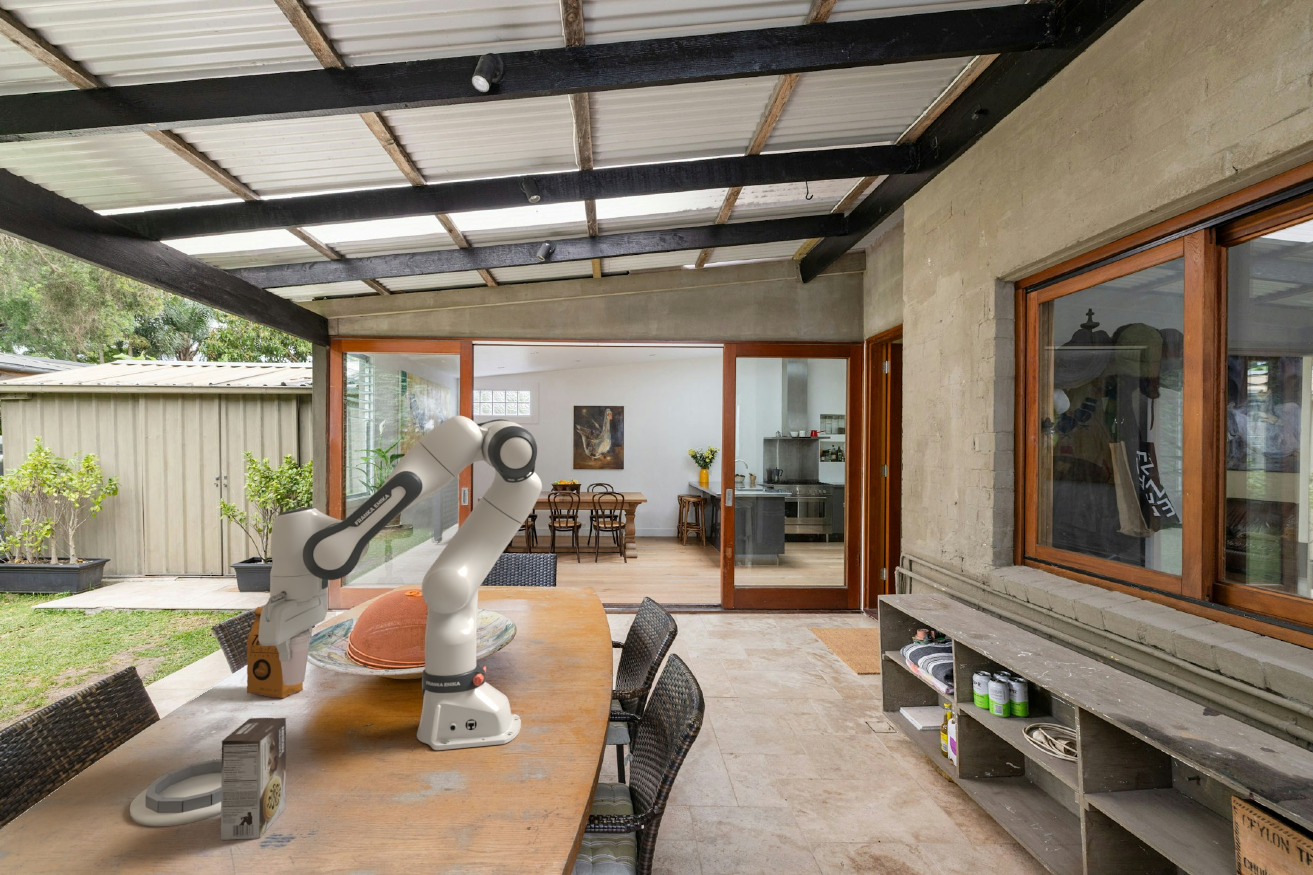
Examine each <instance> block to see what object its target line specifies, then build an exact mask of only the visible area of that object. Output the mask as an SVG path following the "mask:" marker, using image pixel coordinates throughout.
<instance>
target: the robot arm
mask: <svg viewBox="0 0 1313 875" xmlns="http://www.w3.org/2000/svg"><path fill="white" fill-rule="evenodd" d="M537 456H538V446H537V441H536V439H535V437H534V435H532V433H531V432H530V431H529V430H527V429H526V428H524V427H523V425H520V424H519V423H517V422H513V421H510V420H507V419H501V418H500V419H492V420H488V421H486V422H479V423H476V422H475V421H474V420H473V419H471V418H469V417H467V416H463V415H454V416H451V417H450V418H448V419H446V420H445V421H443V422H442V423H440V424H439V425H436V427H434V428H433V429H431V430H429V431H428V433H426V434H425V435H424V436H422V437H421V438H420V439H419V440H418V441H417V442H415V444H413V446H412V447H411V448H409V450H408V451H407V452H406V453H405V454H404V456H403V457H402V458H400V460H399V461H398V463H397V464H396V466H395V467H394V468H393V470H392V471H391V473H390V474H389V476H388V477H387V478H386V480H385V481H384V482H383V484H382V485H381V486H380V487H379V488H378V490H377V491H376V492H375V493H373V494H372V495H371V496H370V497H369V498H368V499H367V500H365V501H364V502H363V503H362V504H361V505H360V506H359V507H358V508H356V509H355V510H354V511H353V512H352V513H351V514H349V515H348V517H346V518H345V519H343V520H342V519H339V518H335V517H332V516H329V515H327V514H325V513H323V512H322V511H320V510H319V509H317V508H316V507H314V506H313V507H312V506H304V507H297V508H294V509H293V508H292V509H288V510H285V511H282V512H281V513H279V514H278V515H276V517H275V518H274V520H273V524H272V527H271V536H270V556H271V559H272V560H271V561H272V565H271V569H270V572H269V573H270V575H269V576H270V577H269V578H270V583H269V584H270V585H269V591H270V592H269V598H268V601H267V602H266V604H265V605H264V608H263V609H262V612H261V616H260V624H259V643H260V644H261V645H262V646H276V648H277V650H278V652H279V660H280V661H281V662H285V661H288V660H290V659H291V658H292V650H290V649H289V645H288V644H290V638H292V637H294V636H296V635H298V634H299V633H301V632H303V631H310V632H312V633H313V627H314V626H316V625H318V624H319V623H322V622H323V621H325V619H326V616H327V613H328V603H329V601H328V600H329V598H328V597H329V594H328V590H327V589H329V587H330V581H335V580H339V579H343V578H344V577H346V576H348V575H349V574H351V572H352V571H353V570H354V569H355V568H356V566H357V565H358V564H359V563H360V562H361V561H362V560H363V558H364V557H365V556H366V555H367V552H368V550H369V547H370V541H372V539H374V537H376V536H377V535H378V534H379V533H380V532H381V531H382V530H383V529H385V527H386V526H388V525H389V524H390V523H391V522H392V521H393V520H394V519H396V518H397V516H399V515H400V514H401V513H403V512H404V511H406V510H407V509H410V508H411V507H412V506H414V505H417V504H418V503H420V502H422V501H424V500H425V499H428V498H430V497H431V496H433V495H434V494H436V493H437V492H439V491H440V490H442V489H444V488H445V487H446V486H447V485H449V484H450V483H451V482H453V480H454V479H455V478H456V477H458V476H459V475H460V474H462V472H463V471H464V469H466V468H467V467H468V466H470V465H472V464H473V463H475V462H479V461H480V462H481V461H484V462H485V463H487V464H488V466H490V467H492V468H494V470H495V474H494V479H493V480H492V483H491V485H490V487H488V489H487V490H486V492H485V493H484V494H483V495H482V497H481V498H480V499H479V501H477V504H476V505H475V506H474V508H473V509H472V511H470V513H469V514H468V516H467V517H466V518H465V520H464V521H463V523H462V524H461V526H460V527H459V528H458V529H457V531H456V532H455V534H454V535H453V536H452V538H451V539H450V541H449V542H448V543H447V544H446V546H445V547H444V548H443V550H442V551H441V553H440V554H439V555H438V557H437V558H436V560H434V562H433V563H432V565H431V566H430V568H429V569H428V570H427V571H426V573H425V575H424V577H423V579H422V583H421V594H422V597H423V600H424V602H425V604H426V605H427V606H428V611H427V612H428V613H427V612H426V616H427V617H426V627H425V631H424V632H425V633H424V634H425V635H424V638H425V639H424V669H423V670H422V676H421V677H422V678H421V690H422V696H423V703H422V709H421V714H420V715H421V716H420V721H419V724H418V725H419V726H418V728H417V731H416V738H417V739H418V740H419V742H421V743H423V744H427V745H429V746H430V747H431V748H432V750H434V751H443V750H444V751H445V750H455V749H463V748H465V749H466V748H474V747H475V748H476V747H484V746H485V747H486V746H496V745H505V744H507V743H509V742H511V741H512V740H514V739H515V737H517V735H518V734H519V733H520V731H521V727H522V720H521V718H520V716H519V715H518V714H516V713H514V714H513V713H512V711H511V704H510V701H509V699H508V696H506V695H505V694H504V693H502V692H501V691H500V690H498V689H497V688H495V687H494V686H493V685H491V684H489V683H488V682H486V672H487V666H483V668H482V667H481V666H479V664H477V647H478V646H477V644H478V643H477V642H478V641H477V636H478V635H477V630H478V611H479V610H478V608H479V588H480V587H481V585H482V584H483V582H484V581H485V579H486V578H487V576H488V575H489V573H490V572H491V571H492V569H493V568H494V566H495V564H496V563H497V561H498V560H499V558H500V557H501V555H502V554H503V553H504V551H505V550H506V549H507V547H508V545H509V544H510V543H511V541H512V540H513V539H514V537H515V535H516V534H517V532H518V531H519V530H520V528H521V527H522V526H523V525H524V523H525V521H526V520H527V519H528V517H529V515H530V514H531V513H532V511H533V508H534V507H535V505H536V504H537V501H538V500H539V497H540V494H541V492H542V489H543V483H542V480H541V478H540V477H539V475H538V474H537V473H536V471H535V470H536V469H535V468H536V460H537Z"/></svg>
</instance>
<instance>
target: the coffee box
mask: <svg viewBox="0 0 1313 875" xmlns="http://www.w3.org/2000/svg"><path fill="white" fill-rule="evenodd" d="M286 719H287V717H276V718H274V717H252V718H248V719H247V720H245V722H244V723H242V724H241V725H240V726H239V727H237V728H236V729H235V730H233V731H232V732H231V733H230V734H229V735H227V736H226V737H225V738H224V739H222V740H221V759H222V781H221V814H220V840H221V841H224V840H226V841H229V840H230V841H231V840H248V839H249V840H250V839H252V840H253V839H255V840H256V839H260V838H261V837H262V836H263V835H264V834H265V833H266V831H267V830H268V829H269V828H270V827H271V825H273V824H274V822H275V821H276V820H277V819H278V818H279V816H280V815H281V814H282V813H283V812H284V811H285V809H286V807H287V804H286V803H287V799H286V798H287V796H286V793H287V791H286V790H287V789H286V788H287V786H286V785H287V784H286V782H287V776H286V775H287V774H286V772H287V770H286V769H287V751H286V750H287V747H286V746H287V742H286V741H287V720H286Z"/></svg>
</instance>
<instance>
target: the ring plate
mask: <svg viewBox="0 0 1313 875" xmlns="http://www.w3.org/2000/svg"><path fill="white" fill-rule="evenodd" d="M221 781H222V758H216V759H215V758H214V759H209V760H204V761H199V762H195V763H190V764H187V765H184V766H182V767H179V768H176V769H174V770H171V771H169V772H166V773H165V774H163V775H161V776H159V778H157V779H155V780H154V781H152V782H151V783H149V784H148V786H147V788H145V789H144V790H143V791H141V792H140V793H139V794H138V795H136V796H135V797H134V799H133V800H132V801H131V803H130V806H129V817H130V819H131V820H132V821H133V822H134V823H136V824H137V825H143V826H146V827H161V828H162V827H173V826H180V825H186V824H187V825H188V824H192V823H196V822H200V821H203V820H208V819H210V818H213V817H217V816H218V815H221Z"/></svg>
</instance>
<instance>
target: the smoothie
mask: <svg viewBox="0 0 1313 875" xmlns="http://www.w3.org/2000/svg"><path fill="white" fill-rule="evenodd" d="M312 633H313V631H312V632H310V631H303V632H301V633H299V634H298V635H296V636H294V637H292V638H290V644H288V645H289V649H290V650H292V658H291V659H290V660H288V661H285V662H281V667H282V675H283V682H284V685H296V684H300V683H302V682H303V683H304V682H305V678H306V673H307V672H306V671H307V664H308V658H309V651H310V644H311V643H310V641H311V639H312V638H313V635H312Z"/></svg>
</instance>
